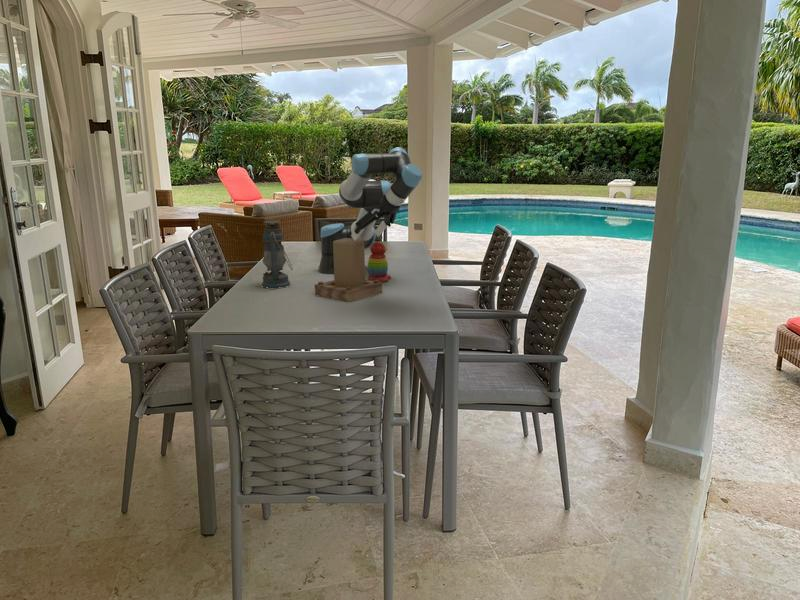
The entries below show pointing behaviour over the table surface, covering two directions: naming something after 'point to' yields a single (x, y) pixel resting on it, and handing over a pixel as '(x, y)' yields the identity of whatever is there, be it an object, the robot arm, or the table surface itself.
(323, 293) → the base plate
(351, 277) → the wooden block
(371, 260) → the stacking bear
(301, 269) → the table surface
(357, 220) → the robot arm
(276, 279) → the lantern
